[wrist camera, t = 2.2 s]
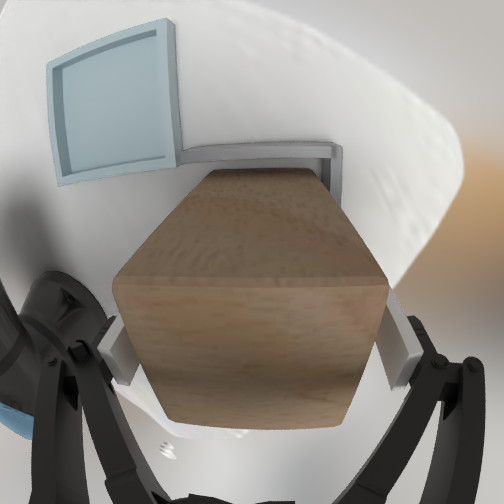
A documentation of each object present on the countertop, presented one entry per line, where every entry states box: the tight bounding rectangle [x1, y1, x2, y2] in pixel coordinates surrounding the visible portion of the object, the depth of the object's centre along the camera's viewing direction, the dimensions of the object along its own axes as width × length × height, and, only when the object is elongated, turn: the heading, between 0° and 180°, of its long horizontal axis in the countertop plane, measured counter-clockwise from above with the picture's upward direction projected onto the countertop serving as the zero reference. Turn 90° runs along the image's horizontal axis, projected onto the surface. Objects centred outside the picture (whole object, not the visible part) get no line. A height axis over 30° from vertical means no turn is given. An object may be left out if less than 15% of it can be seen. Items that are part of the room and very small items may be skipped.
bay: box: [180, 142, 343, 208], centre depth 27 cm, size 14×15×4 cm
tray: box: [46, 18, 183, 187], centre depth 22 cm, size 15×15×2 cm
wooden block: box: [112, 168, 389, 430], centre depth 20 cm, size 10×10×20 cm
